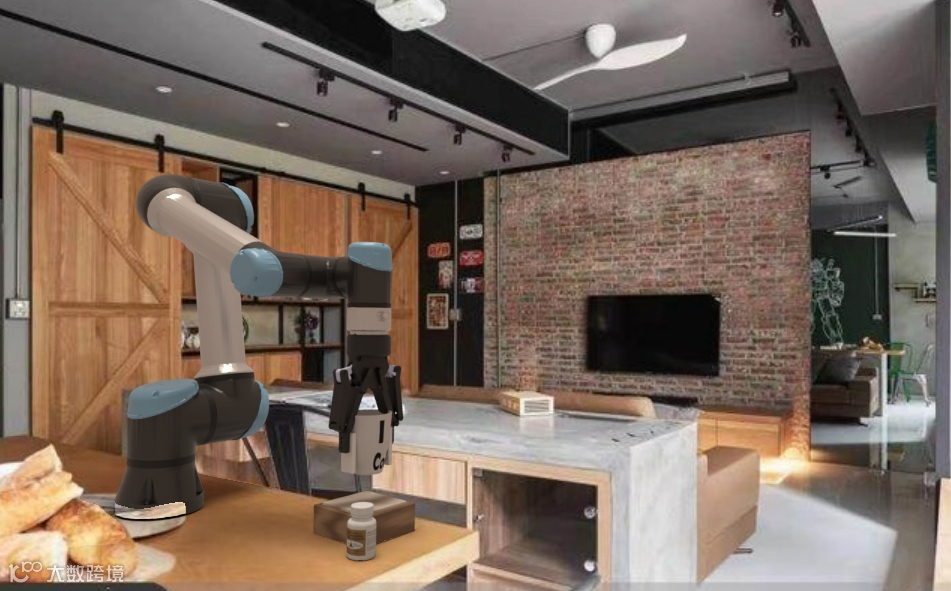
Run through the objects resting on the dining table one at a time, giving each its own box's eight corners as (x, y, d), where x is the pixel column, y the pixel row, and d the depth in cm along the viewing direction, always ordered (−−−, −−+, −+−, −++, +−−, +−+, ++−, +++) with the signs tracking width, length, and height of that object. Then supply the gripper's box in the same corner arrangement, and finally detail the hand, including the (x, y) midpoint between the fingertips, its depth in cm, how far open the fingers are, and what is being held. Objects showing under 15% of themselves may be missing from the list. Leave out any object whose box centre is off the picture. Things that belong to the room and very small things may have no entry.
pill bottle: (340, 557, 100) (341, 505, 100) (359, 548, 103) (360, 499, 104) (362, 563, 97) (363, 510, 98) (381, 554, 101) (382, 503, 101)
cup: (381, 478, 107) (382, 416, 107) (334, 475, 109) (335, 414, 109) (397, 467, 115) (398, 410, 115) (353, 465, 117) (354, 408, 117)
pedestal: (313, 532, 111) (314, 502, 111) (366, 516, 120) (367, 488, 120) (361, 549, 103) (362, 517, 103) (414, 530, 113) (415, 500, 113)
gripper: (336, 334, 102) (334, 482, 101) (425, 333, 118) (424, 461, 118) (306, 333, 107) (303, 475, 106) (395, 332, 123) (394, 455, 122)
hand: (366, 467), depth 112 cm, fingers closed on cup, 8 cm apart
